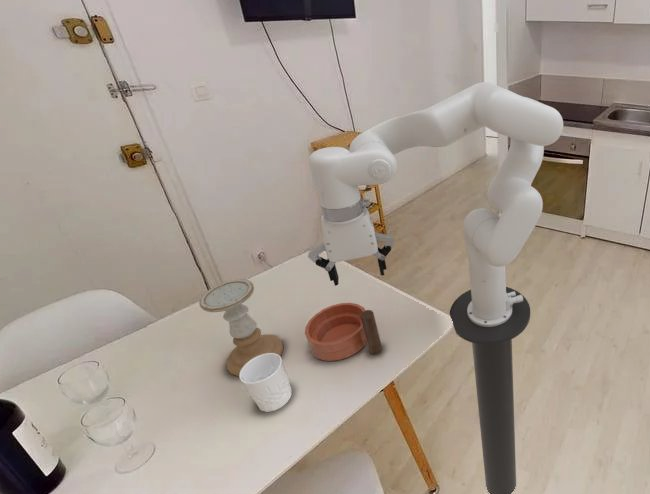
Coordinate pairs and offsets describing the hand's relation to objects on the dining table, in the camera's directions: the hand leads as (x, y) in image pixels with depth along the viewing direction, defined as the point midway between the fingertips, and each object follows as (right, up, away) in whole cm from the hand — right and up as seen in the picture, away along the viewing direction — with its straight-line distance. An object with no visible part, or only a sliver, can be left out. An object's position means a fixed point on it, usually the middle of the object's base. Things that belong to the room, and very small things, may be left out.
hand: (359, 276), depth 90 cm
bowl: (-10, -18, +15) cm, 26 cm away
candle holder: (-30, -21, +11) cm, 38 cm away
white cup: (-19, -27, 0) cm, 33 cm away
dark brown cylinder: (0, -20, +11) cm, 23 cm away
